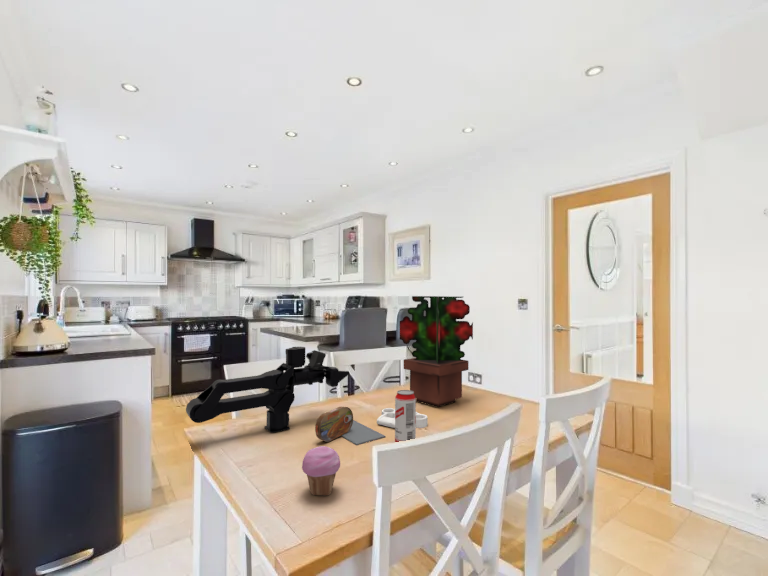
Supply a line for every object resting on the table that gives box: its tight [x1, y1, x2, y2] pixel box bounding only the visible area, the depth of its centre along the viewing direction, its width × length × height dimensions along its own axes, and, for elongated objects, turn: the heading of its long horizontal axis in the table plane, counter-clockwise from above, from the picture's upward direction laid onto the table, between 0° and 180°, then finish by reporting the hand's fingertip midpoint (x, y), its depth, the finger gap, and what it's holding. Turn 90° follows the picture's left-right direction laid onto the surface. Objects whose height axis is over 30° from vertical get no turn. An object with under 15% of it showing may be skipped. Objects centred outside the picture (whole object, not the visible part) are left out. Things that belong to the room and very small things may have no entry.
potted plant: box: [399, 295, 474, 408], centre depth 161 cm, size 22×22×45 cm
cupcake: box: [301, 445, 341, 496], centre depth 86 cm, size 9×9×10 cm
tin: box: [314, 406, 354, 443], centre depth 119 cm, size 15×3×8 cm, turn 143°
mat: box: [340, 419, 386, 446], centre depth 123 cm, size 11×19×1 cm, turn 37°
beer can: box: [394, 389, 417, 443], centre depth 113 cm, size 6×6×16 cm
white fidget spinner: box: [376, 407, 428, 429], centre depth 133 cm, size 3×18×15 cm
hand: (342, 370), depth 142 cm, fingers open, 9 cm apart
